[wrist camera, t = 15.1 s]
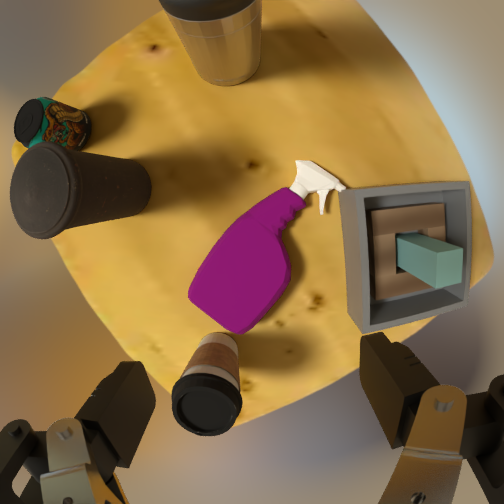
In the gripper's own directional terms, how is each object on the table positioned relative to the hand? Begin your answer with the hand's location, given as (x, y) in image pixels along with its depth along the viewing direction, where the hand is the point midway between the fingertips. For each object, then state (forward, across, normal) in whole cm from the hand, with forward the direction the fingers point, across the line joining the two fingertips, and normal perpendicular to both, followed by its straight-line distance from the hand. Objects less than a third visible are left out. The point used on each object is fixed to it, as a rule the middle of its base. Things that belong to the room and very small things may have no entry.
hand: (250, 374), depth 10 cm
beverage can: (+30, +25, -21) cm, 45 cm away
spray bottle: (+30, -2, +1) cm, 30 cm away
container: (+30, +17, -10) cm, 36 cm away
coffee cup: (+30, +8, +16) cm, 35 cm away
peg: (+29, -21, +4) cm, 36 cm away
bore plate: (+30, -21, +4) cm, 37 cm away
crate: (+30, -21, +4) cm, 37 cm away
